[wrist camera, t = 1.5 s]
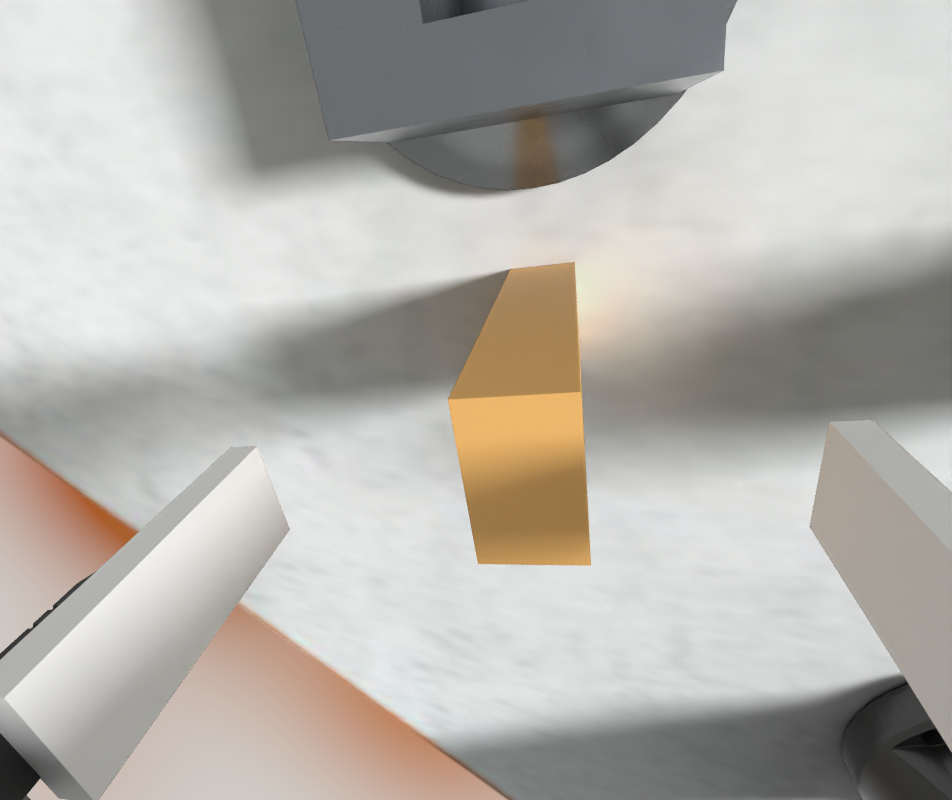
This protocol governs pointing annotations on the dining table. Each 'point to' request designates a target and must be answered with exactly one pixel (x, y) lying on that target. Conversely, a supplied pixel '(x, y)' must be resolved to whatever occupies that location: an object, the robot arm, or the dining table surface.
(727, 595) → the dining table surface
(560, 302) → the tan wooden beam
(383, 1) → the bracket head
